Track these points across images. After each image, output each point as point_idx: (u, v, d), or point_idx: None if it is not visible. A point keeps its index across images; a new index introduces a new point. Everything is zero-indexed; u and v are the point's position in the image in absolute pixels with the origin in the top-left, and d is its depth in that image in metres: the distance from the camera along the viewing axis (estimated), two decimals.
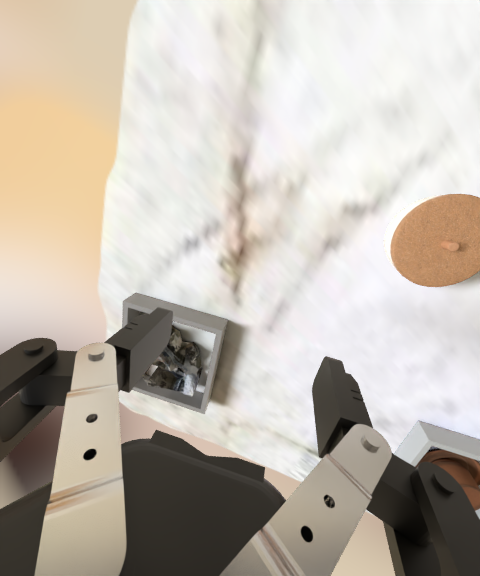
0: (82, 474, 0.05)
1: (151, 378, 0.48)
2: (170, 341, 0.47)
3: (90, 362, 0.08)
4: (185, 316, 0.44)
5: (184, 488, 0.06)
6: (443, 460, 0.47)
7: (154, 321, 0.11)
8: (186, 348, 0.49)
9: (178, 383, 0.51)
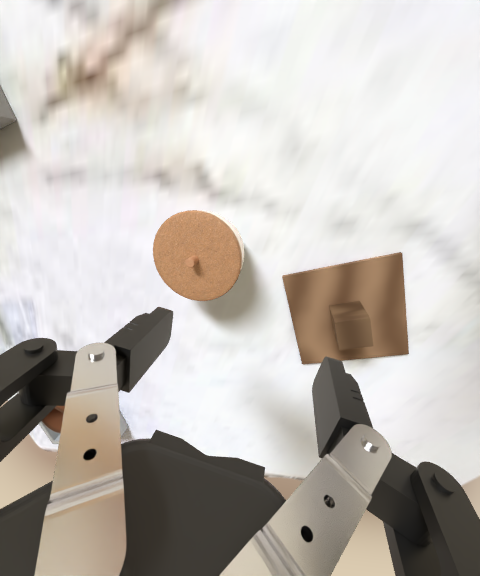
0: (82, 474, 0.05)
1: None
2: None
3: (90, 362, 0.08)
4: None
5: (184, 488, 0.06)
6: None
7: (154, 321, 0.11)
8: None
9: None
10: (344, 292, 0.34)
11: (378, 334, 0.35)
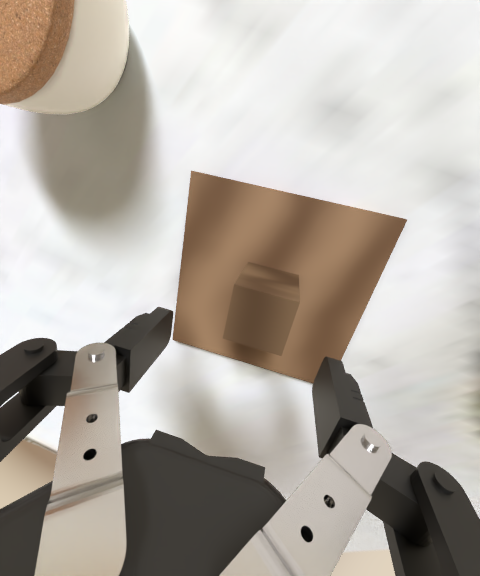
0: (82, 474, 0.05)
1: None
2: None
3: (90, 362, 0.08)
4: None
5: (184, 488, 0.06)
6: None
7: (154, 321, 0.11)
8: None
9: None
10: (282, 248, 0.18)
11: (300, 342, 0.21)
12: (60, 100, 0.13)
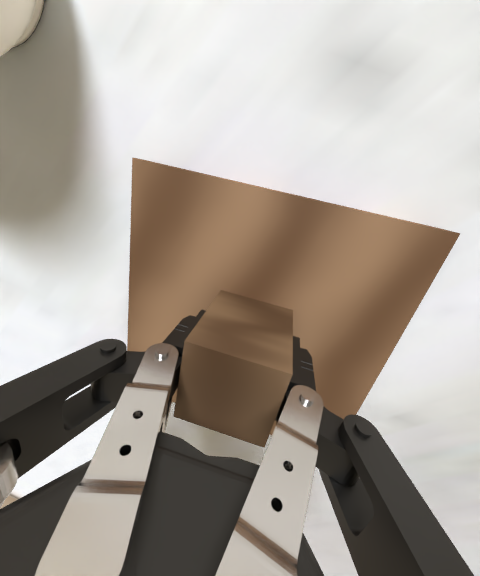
0: (113, 467, 0.05)
1: None
2: None
3: (159, 361, 0.09)
4: None
5: (184, 488, 0.06)
6: None
7: None
8: None
9: None
10: (268, 272, 0.13)
11: None
12: None
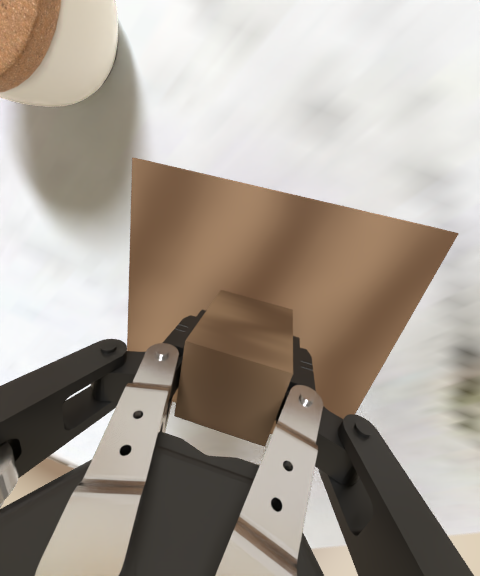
0: (113, 467, 0.05)
1: None
2: None
3: (160, 361, 0.09)
4: None
5: (184, 488, 0.06)
6: None
7: None
8: None
9: None
10: (268, 272, 0.13)
11: None
12: (47, 92, 0.13)
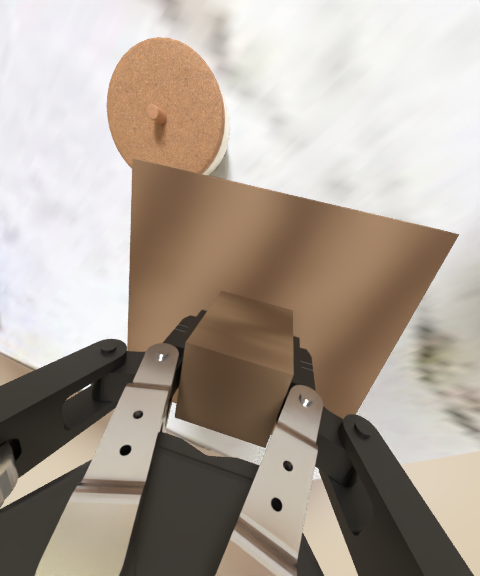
0: (114, 467, 0.05)
1: None
2: None
3: (160, 361, 0.09)
4: None
5: (184, 488, 0.06)
6: None
7: None
8: None
9: None
10: (268, 273, 0.13)
11: None
12: None
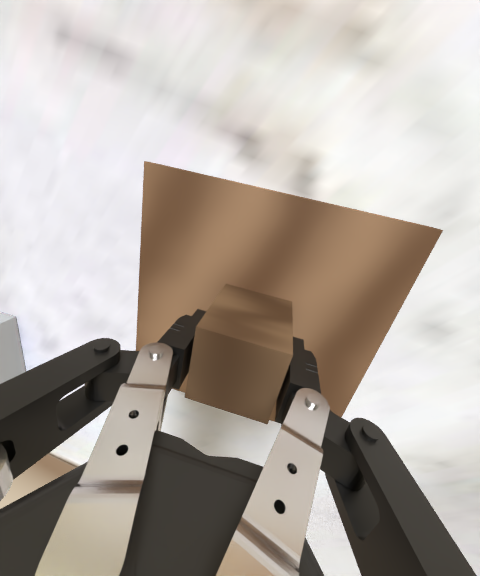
0: (110, 467, 0.05)
1: None
2: None
3: (153, 361, 0.09)
4: None
5: (184, 488, 0.06)
6: None
7: (198, 322, 0.12)
8: None
9: None
10: (269, 267, 0.14)
11: None
12: None
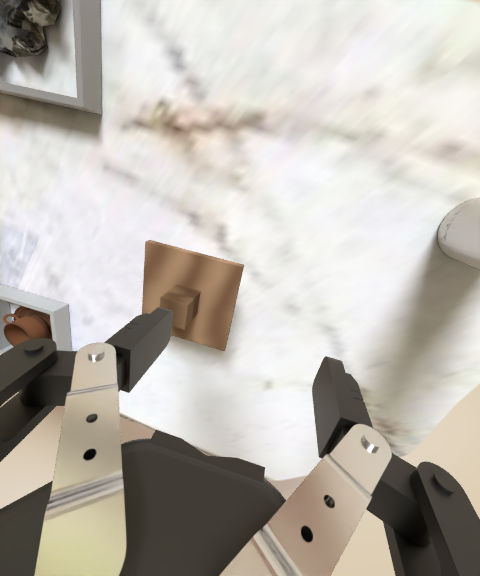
0: (82, 474, 0.05)
1: None
2: (33, 4, 0.35)
3: (90, 362, 0.08)
4: (86, 50, 0.35)
5: (184, 488, 0.06)
6: (45, 324, 0.60)
7: (154, 321, 0.11)
8: (33, 33, 0.38)
9: None
10: (191, 278, 0.37)
11: (206, 325, 0.40)
12: None
